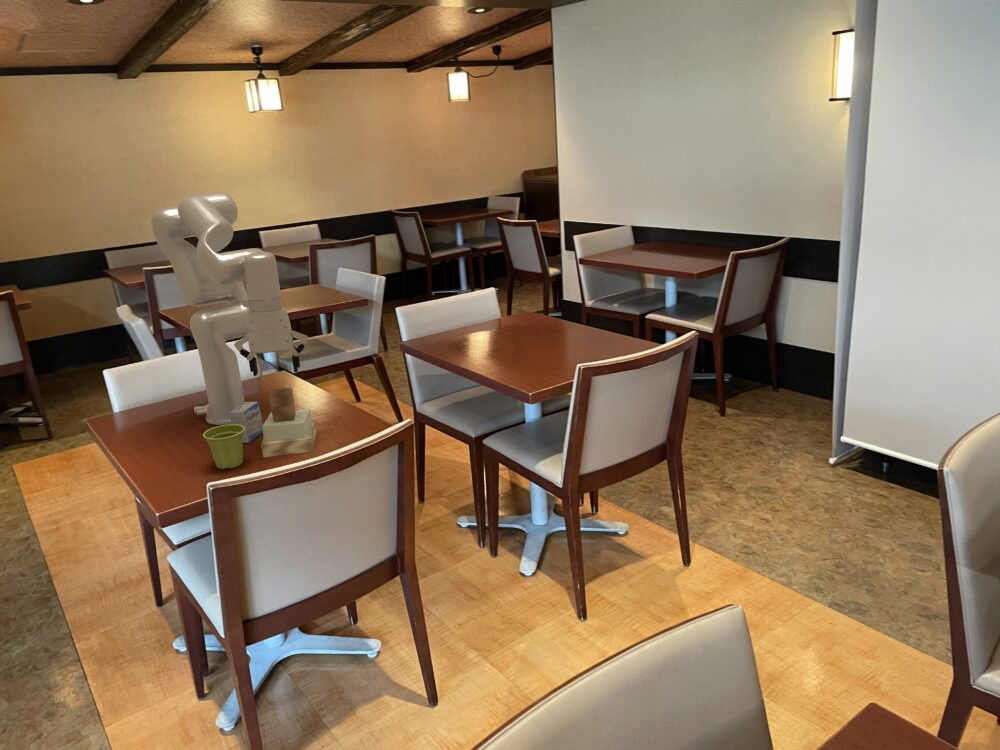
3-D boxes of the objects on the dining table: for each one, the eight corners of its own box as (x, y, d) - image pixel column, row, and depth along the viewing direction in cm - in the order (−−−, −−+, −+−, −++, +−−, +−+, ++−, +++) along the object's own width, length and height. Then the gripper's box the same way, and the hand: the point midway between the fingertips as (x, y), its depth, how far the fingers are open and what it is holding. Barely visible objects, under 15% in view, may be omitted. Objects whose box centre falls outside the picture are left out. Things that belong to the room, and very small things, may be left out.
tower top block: (264, 441, 184) (262, 426, 183) (273, 426, 194) (271, 412, 193) (305, 438, 185) (303, 423, 184) (312, 423, 194) (310, 408, 193)
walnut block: (273, 422, 185) (269, 395, 183) (275, 415, 190) (271, 389, 188) (294, 420, 186) (290, 393, 184) (295, 413, 191) (291, 387, 189)
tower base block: (263, 459, 184) (261, 444, 183) (270, 441, 195) (267, 426, 194) (313, 453, 186) (311, 438, 184) (316, 435, 197) (314, 421, 196)
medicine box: (249, 443, 193) (243, 412, 190) (233, 443, 194) (227, 411, 191) (264, 431, 200) (259, 401, 198) (249, 431, 201) (243, 401, 199)
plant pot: (234, 453, 187) (228, 421, 185) (258, 460, 182) (252, 427, 179) (201, 468, 180) (194, 434, 177) (225, 475, 175) (219, 441, 172)
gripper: (225, 311, 174) (237, 380, 180) (301, 305, 177) (310, 373, 182) (231, 304, 182) (242, 371, 187) (304, 298, 184) (312, 364, 189)
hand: (276, 372), depth 185 cm, fingers open, 9 cm apart
